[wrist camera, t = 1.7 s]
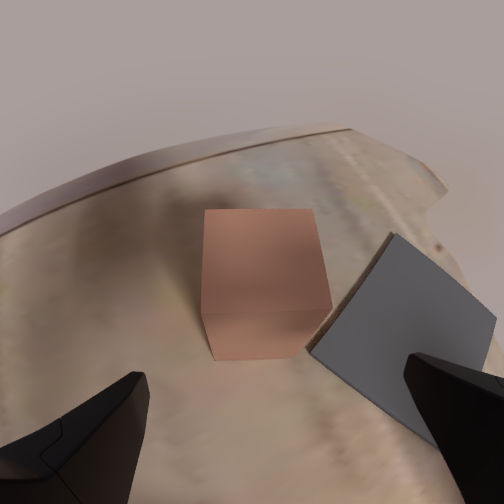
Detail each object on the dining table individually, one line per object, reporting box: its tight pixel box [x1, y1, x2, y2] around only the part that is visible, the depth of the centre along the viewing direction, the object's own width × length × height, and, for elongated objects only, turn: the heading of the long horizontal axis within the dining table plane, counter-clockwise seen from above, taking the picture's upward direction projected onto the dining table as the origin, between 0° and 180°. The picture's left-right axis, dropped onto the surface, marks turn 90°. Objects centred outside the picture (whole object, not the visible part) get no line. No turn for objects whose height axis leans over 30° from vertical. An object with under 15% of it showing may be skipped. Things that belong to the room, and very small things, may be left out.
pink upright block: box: [201, 209, 333, 361], centre depth 19 cm, size 6×6×10 cm
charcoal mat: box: [309, 233, 497, 451], centre depth 22 cm, size 16×16×1 cm
